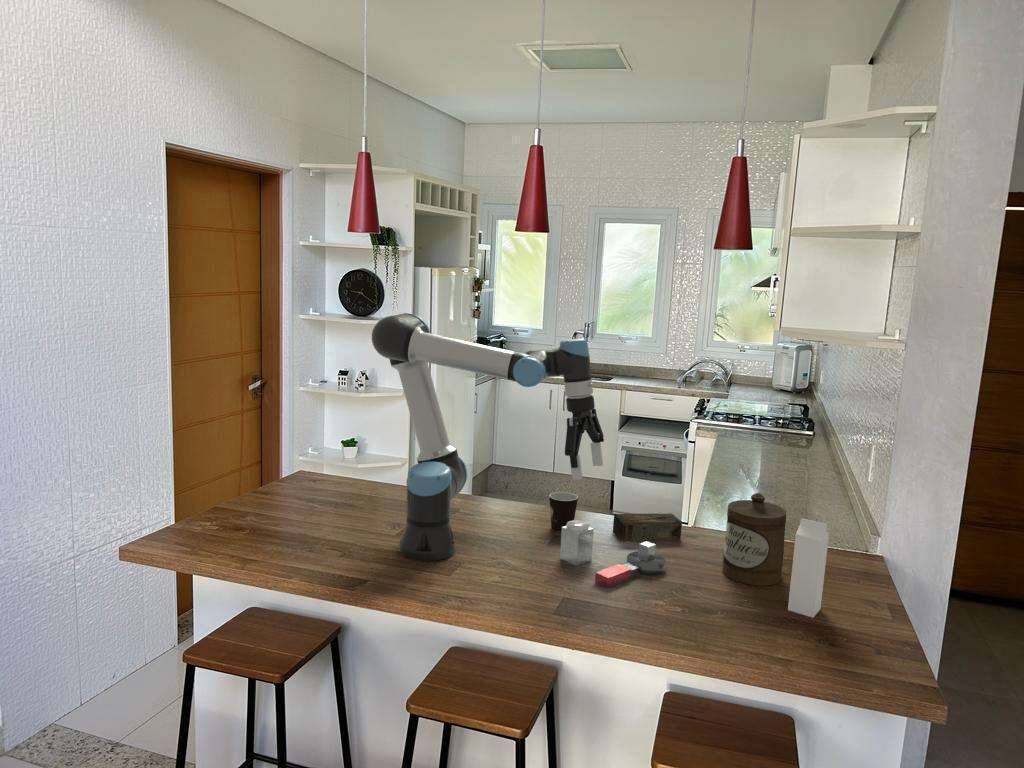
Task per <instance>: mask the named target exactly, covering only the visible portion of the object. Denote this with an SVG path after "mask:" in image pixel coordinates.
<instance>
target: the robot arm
mask: <svg viewBox="0 0 1024 768" xmlns="http://www.w3.org/2000/svg"><path fill="white" fill-rule="evenodd" d="M371 342H372V346H373V348H374V350H375V351H376V352H377V353H378V354H379V355H380V356H381V357H384V358H386V359H388V360H389V363H390V367H391V368H394V369H395V370H396V371H397V372H398V375H399V379H400V382H401V386H402V389H403V392H404V397H405V400H406V405H407V407H408V412H409V415H410V418H411V423H412V425H413V429H414V433H415V437H416V441H417V444H418V449H419V454H418V456H417V457H416V460H417V463H416V464H415V465H412V466H411V467H410V468H409V470H408V471H407V476H406V477H407V478H406V523H405V526H404V529H403V533H402V536H401V539H400V541H399V548H398V549H399V553H400V555H402V556H403V557H404V558H407V559H409V560H413V561H421V562H432V561H440V560H445V559H448V558H450V557H452V556H453V555H454V554H455V553H456V540H455V537H454V533H453V531H452V528H451V524H450V520H451V519H450V517H451V501H452V500H453V499H454V498H455V497H456V496H457V495H458V494H459V493H460V492H461V491H463V488H464V487H465V485H466V483H467V480H468V468H467V465H466V463H465V461H463V459H462V458H461V457H459V453H458V449H457V447H456V446H454V445H453V444H451V443H450V440H449V437H448V432H447V430H446V429H447V428H446V425H445V422H444V418H443V415H442V411H441V407H440V403H439V401H438V399H439V398H438V396H437V392H436V390H435V389H436V388H435V385H434V381H433V377H432V375H431V371H430V367H429V364H434V365H438V366H443V367H447V368H452V369H457V370H459V371H460V370H461V371H465V372H469V373H470V372H471V373H475V374H478V375H479V374H480V375H485V376H489V377H493V378H498V379H503V380H508V381H511V382H515V383H517V384H518V385H520V386H521V387H525V388H532V387H535V386H537V385H539V384H541V383H542V382H543V380H544V379H545V378H551V377H552V378H553V377H561V376H562V377H563V385H564V395H565V397H566V399H565V403H566V411H568V412H569V413H572V417H567V418H566V436H565V446H564V455H565V456H566V457H569V462H570V471H571V472H570V473H571V479H572V480H583V472H582V461H581V455H580V454H579V451H580V447H581V442H582V437H583V434H585V432H586V434H587V435H588V437H589V438H590V440H591V442H590V452H591V459H592V461H591V462H592V466H593V467H602V466H603V465H604V463H603V462H604V461H603V454H602V445H601V443H604V442H605V439H604V437H605V436H604V432H603V429H602V427H601V425H600V421H599V419H598V415H597V410H596V408H595V407H596V406H595V397H594V395H593V393H594V389H593V387H594V383H593V379H592V369H591V367H592V366H591V358H590V352H589V345H588V340H586V339H585V338H580V337H579V338H571V339H569V338H568V339H563V340H561V341H560V342H559V347H557V348H550V349H549V348H548V349H540V350H527V351H522V352H517V351H515V350H508V349H503V348H499V347H495V346H491V345H490V346H489V345H485V344H480V343H476V342H472V341H467V340H463V339H458V338H454V337H453V338H452V337H447V336H444V335H438V334H433V333H431V331H430V327H429V325H428V324H427V322H426V320H424V318H422V317H420V315H417V314H414V313H410V312H409V313H406V312H403V313H398V314H394V315H388V316H385V317H383V318H381V319H379V320H378V322H377V323H375V325H374V327H373V329H372V332H371Z"/></svg>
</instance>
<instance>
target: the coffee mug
mask: <svg viewBox="0 0 1024 768" xmlns="http://www.w3.org/2000/svg"><path fill="white" fill-rule="evenodd" d="M548 497H549V499H548V500H549V513H550V527H551V529H552V530H553V531H555V532H558V531H560V532H559V533H561V532H562V527H563V526H567V522H569V521H573V520H575V517H576V511H577V506H578V501H579V500H578V499H579V496H578V494H575V493H572V492H568V491H556V492H551V493H549V496H548Z"/></svg>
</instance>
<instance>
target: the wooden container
mask: <svg viewBox="0 0 1024 768" xmlns="http://www.w3.org/2000/svg"><path fill="white" fill-rule="evenodd" d="M765 500H766V497H765V496H764V495H763V494H762V493H759V492H756V493H753V494H752V495H751V496H750V499H740V500H733V501H730V502H729V503H728V505H727V514H726V515H727V516H726V526H725V535H724V543H723V544H724V545H723V554H722V555H723V557H722V567H721V568H722V569H721V570H722V573H723V574H724V575H725V576H726V577H728V578H730V579H731V580H734V581H736V582H738V583H742V584H745V585H746V584H747V585H751V586H758V587H759V586H762V587H763V586H772V585H775V584H779V582H780V581H781V580H782V573H783V563H784V555H785V554H784V551H785V537H786V536H785V535H786V534H785V533H786V524H787V523H786V520H787V511H786V509H785V508H783V507H781V506H780V505H777V504H775V503H771V502H767V501H765Z"/></svg>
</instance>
